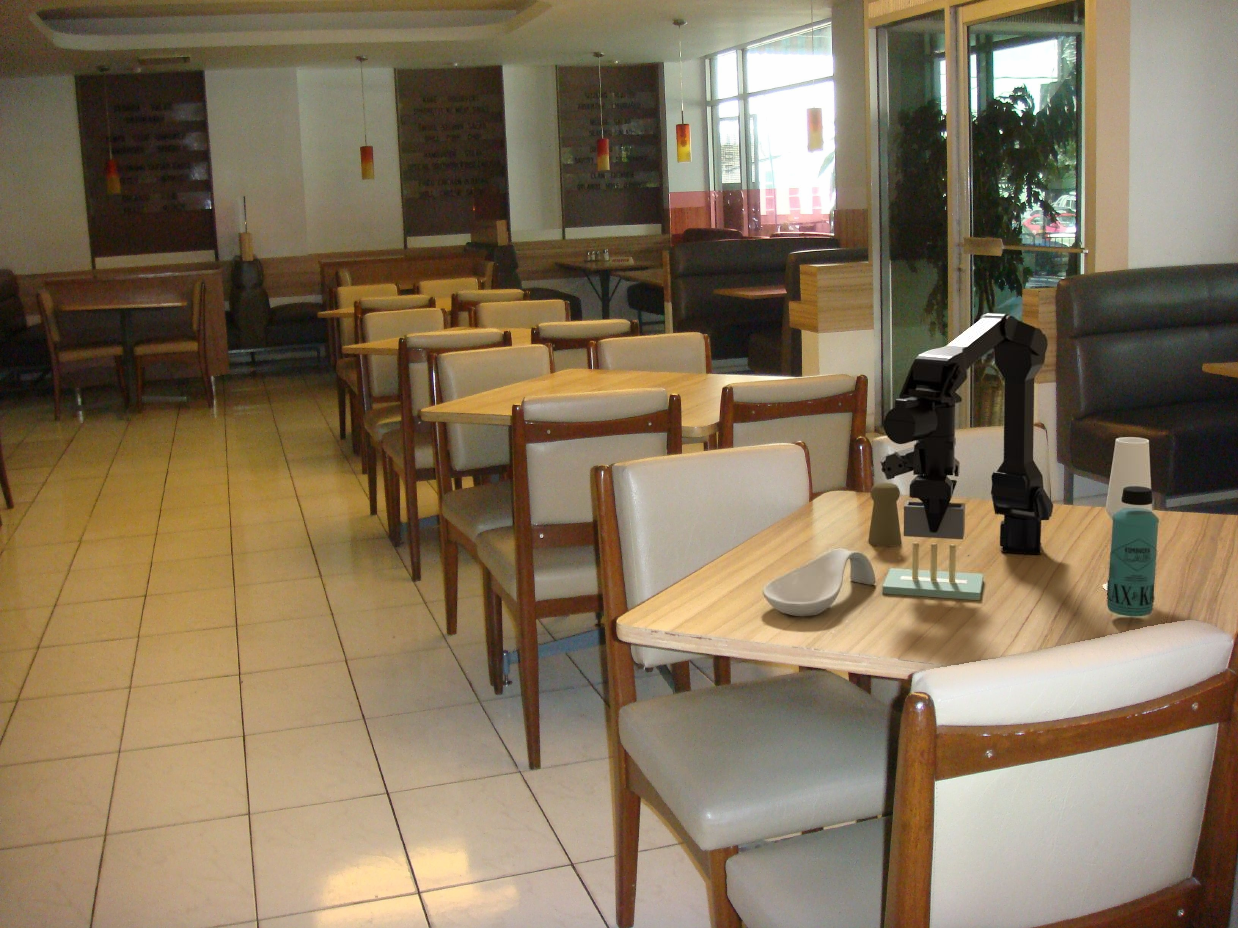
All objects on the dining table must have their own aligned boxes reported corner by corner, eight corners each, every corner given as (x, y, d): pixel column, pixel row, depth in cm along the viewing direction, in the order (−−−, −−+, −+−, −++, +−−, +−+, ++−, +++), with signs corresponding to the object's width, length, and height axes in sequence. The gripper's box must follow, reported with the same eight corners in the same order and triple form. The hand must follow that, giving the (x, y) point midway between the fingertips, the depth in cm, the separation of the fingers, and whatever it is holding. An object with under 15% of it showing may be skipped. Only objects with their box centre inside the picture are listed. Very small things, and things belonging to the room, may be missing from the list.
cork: (902, 546, 219) (902, 487, 217) (868, 546, 220) (868, 487, 218) (901, 537, 225) (901, 480, 223) (868, 537, 226) (868, 479, 224)
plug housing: (964, 533, 194) (965, 503, 193) (962, 539, 191) (963, 508, 190) (906, 530, 198) (906, 500, 196) (903, 536, 194) (903, 506, 193)
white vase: (1127, 597, 188) (1135, 446, 182) (1092, 586, 193) (1099, 439, 188) (1157, 589, 191) (1165, 440, 185) (1121, 579, 196) (1129, 434, 191)
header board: (983, 580, 198) (984, 538, 197) (979, 600, 189) (980, 555, 187) (890, 574, 203) (890, 533, 202) (882, 593, 194) (882, 550, 192)
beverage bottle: (1097, 613, 181) (1103, 483, 177) (1140, 610, 182) (1147, 481, 177) (1118, 628, 175) (1125, 494, 171) (1163, 625, 175) (1171, 491, 171)
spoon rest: (811, 629, 180) (811, 583, 178) (748, 614, 188) (747, 570, 186) (893, 589, 196) (894, 547, 195) (832, 576, 204) (832, 535, 203)
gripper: (891, 421, 202) (891, 512, 205) (876, 444, 185) (875, 542, 188) (960, 423, 198) (958, 515, 202) (951, 446, 181) (949, 546, 185)
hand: (934, 528), depth 194 cm, fingers closed on plug housing, 4 cm apart
